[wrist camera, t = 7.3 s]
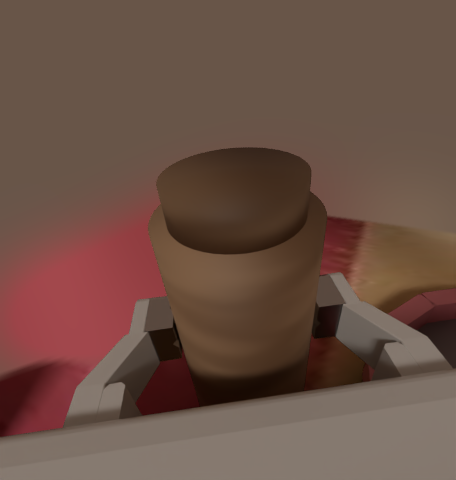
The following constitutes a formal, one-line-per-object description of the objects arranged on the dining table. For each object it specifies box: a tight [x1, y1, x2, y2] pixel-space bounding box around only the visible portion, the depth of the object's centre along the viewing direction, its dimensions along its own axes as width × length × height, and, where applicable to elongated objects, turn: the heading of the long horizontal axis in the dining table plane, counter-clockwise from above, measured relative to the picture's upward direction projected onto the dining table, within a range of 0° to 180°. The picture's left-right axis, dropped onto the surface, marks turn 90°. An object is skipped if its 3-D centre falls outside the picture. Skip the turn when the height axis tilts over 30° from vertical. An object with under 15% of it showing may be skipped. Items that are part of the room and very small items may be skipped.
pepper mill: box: [148, 148, 327, 407], centre depth 11 cm, size 5×5×12 cm
